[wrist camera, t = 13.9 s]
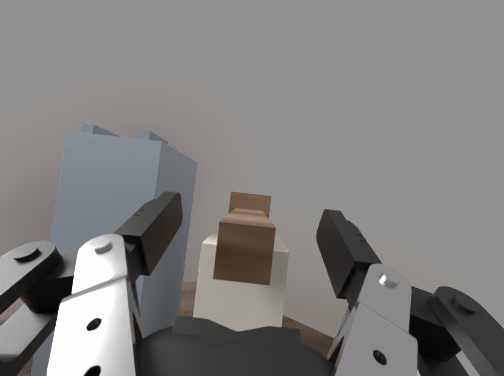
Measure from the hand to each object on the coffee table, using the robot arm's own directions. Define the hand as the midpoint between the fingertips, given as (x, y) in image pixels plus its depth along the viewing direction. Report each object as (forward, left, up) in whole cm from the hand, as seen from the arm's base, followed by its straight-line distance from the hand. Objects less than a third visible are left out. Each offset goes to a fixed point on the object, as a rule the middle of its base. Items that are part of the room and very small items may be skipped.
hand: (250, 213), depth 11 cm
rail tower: (-21, -4, -26) cm, 34 cm away
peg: (-9, +6, -4) cm, 12 cm away
